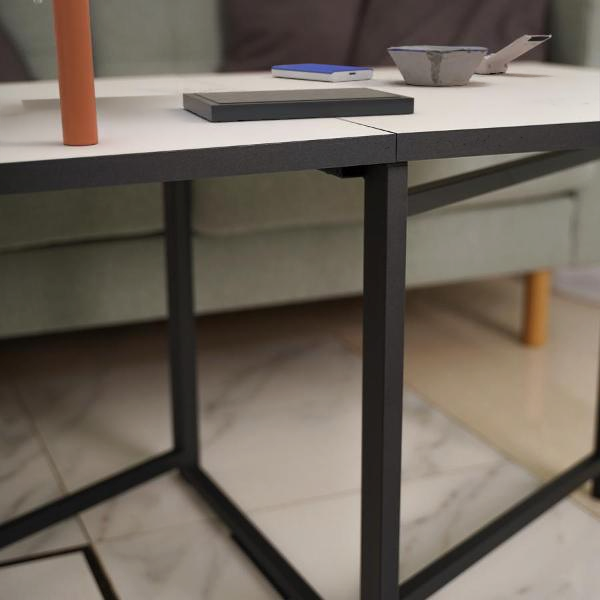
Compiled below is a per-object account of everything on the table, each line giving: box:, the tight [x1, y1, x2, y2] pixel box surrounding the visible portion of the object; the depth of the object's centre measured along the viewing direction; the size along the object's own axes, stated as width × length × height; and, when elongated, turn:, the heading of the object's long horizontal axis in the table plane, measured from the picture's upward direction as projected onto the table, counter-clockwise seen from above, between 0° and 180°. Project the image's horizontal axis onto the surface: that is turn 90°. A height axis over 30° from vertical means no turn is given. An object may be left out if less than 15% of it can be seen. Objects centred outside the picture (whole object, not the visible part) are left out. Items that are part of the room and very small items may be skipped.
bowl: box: [386, 44, 490, 87], centre depth 120 cm, size 13×13×5 cm
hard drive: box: [271, 63, 374, 83], centre depth 129 cm, size 2×8×12 cm
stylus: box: [51, 0, 99, 146], centre depth 68 cm, size 3×3×12 cm
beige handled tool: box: [474, 34, 552, 75], centre depth 139 cm, size 6×6×25 cm
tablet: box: [182, 87, 415, 123], centre depth 90 cm, size 20×12×2 cm, turn 109°
